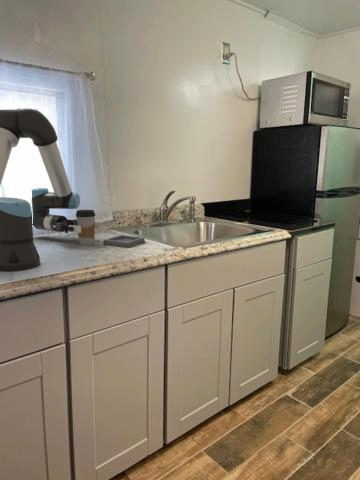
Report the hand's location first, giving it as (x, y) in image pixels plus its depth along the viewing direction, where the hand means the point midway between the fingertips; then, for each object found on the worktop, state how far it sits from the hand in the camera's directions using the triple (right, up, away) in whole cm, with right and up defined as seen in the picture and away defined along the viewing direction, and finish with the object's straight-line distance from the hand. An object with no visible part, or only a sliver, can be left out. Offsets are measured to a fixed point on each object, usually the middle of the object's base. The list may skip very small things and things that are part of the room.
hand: (91, 227), depth 161 cm
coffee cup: (-3, -8, +3) cm, 9 cm away
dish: (+13, -7, +6) cm, 16 cm away
